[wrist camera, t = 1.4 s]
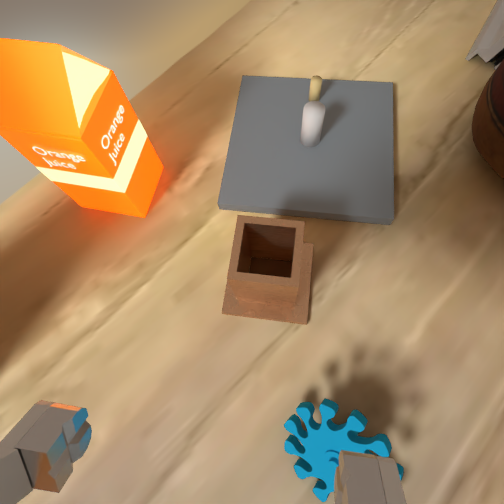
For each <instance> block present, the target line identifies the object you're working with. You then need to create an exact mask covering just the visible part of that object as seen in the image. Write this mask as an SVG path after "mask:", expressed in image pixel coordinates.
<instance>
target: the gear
mask: <svg viewBox="0 0 504 504" xmlns="http://www.w3.org/2000/svg"><path fill="white" fill-rule="evenodd" d="M319 409H320V412H321V416H322V424H318V423H316V422H315V421H314V419H313V413H314V410H315V408H314V405H313V404H312V403H311V402H303V403H300V405H299V406H298V407H297V408H296V411H297V414H298V415H299V416H300V417H301V419H302V420H303V421H304V423H305V425H306V428H307V432H306V431H305V430H304V429H303V428H302V425H301V421H300V419H299V417H298V416H297V415H295V414H294V415H292V416H291V417H290V418H289V419H288V420H287V422H286V423H285V424H284V427H285V428H286V430H287V431H289V432H290V433H292V434H294V435H295V436H296V437H297V438H298V439H299V440H300V442H301V443H302V444H303V446H302V445H301V444H300V442H299V441H298V439H297V438H296V437H295V436H293V435H290V436H289V437H288V438H287V440H286V441H285V451H286V452H287V453H289V454H294V455H297V456H299V457H301V458H303V459H304V460H303V459H298V460H297V462H296V463H295V465H294V469H295V472H296V474H297V476H298V478H300V479H305V478H306V477H310V476H312V477H316V478H319V479H322V480H323V481H317V483H316V485H315V487H314V488H313V492H314V494H315V495H316V496H317V497H318V498H319V499H320V500H321V501H322V502H325V501H326V500H327V498H328V496H329V494H330V492H333V491H334V479H335V471H336V467H338V466H339V454H340V451H341V450H344V451H351V452H358V453H365V454H371V455H374V454H372V453H371V452H370V451H369V450H372V451H374V452H375V453H376V454H378V455H379V456H381V457H389V455H390V452H391V449H392V447H391V443H390V441H389V439H388V437H387V435H385V434H377V435H376V436H374V437H361V436H357V435H358V433H359V432H361V431H363V430H364V428H365V426H366V424H367V422H368V421H367V419H366V418H365V416H364V415H363V414H362V413H360V412H359V411H358V410H357V409H356V410H353V411H352V412H351V414H350V416H349V417H348V420H347V422H346V423H344V424H341V425H337V424H335V423H333V422H332V420H331V418H333V417H334V416H335V414H336V413H337V411H338V409H339V407H338V404H337V403H335V402H333V401H331V400H329V399H326V398H325V399H324V400H323V402H322V403H321V405H320V407H319ZM368 449H369V450H368ZM305 460H306V461H307V462H306V461H305ZM396 464H397V468H398V472H399V476H400V480H402V477H403V472H404V468H403V467H402V466H401V465H400V464H398V463H396Z"/></svg>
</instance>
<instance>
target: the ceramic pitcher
mask: <svg viewBox="0 0 504 504" xmlns="http://www.w3.org/2000/svg"><path fill="white" fill-rule="evenodd" d="M472 132H473V140H474V143H475V146H476V148H477V150H478V151H479V153H480V154H481V156H482V157H483V158H484V160H485V161H486V162H488V164H489V165H490V166H491V167H492V169H493V170H494V171H495V172H496V173H498V174H499V175H500V176H501V177H502V178H503V179H504V59H503V61H502V62H501V63H500V65H499V66H498V67H497V69H496V70H495V72H494V73H493V75H492V76H491V78H490V79H489V80H488V82H487V84H486V86H485V88H484V90H483V92H482V94H481V96H480V98H479V100H478V102H477V105H476V108H475V112H474V116H473V122H472Z"/></svg>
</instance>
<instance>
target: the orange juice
mask: <svg viewBox="0 0 504 504" xmlns="http://www.w3.org/2000/svg"><path fill="white" fill-rule="evenodd" d="M0 135H1V136H2V137H3V138H4V139H6V140H7V141H8V142H9V143H10V144H11V145H12V146H13V147H14V148H16V149H17V150H18V151H19V152H20V153H21V154H22V155H23V156H25V157H26V158H27V159H28V160H29V161H30V162H31V163H32V164H34V165H35V166H36V168H37V169H38V170H40V171H41V172H42V173H43V174H44V175H45V176H46V177H47V178H49V179H50V180H51V181H53V182H54V183H55V184H56V185H57V186H58V187H59V188H61V189H62V190H63V191H64V192H65V193H66V194H67V195H69V196H70V197H71V198H72V199H73V200H74V201H75V202H76V203H78V204H79V205H80V206H81V207H86V208H91V209H97V210H103V211H109V212H114V213H120V214H126V215H131V216H137V217H143V218H145V217H146V214H147V212H148V209H149V206H150V203H151V200H152V198H153V195H154V192H155V189H156V187H157V184H158V181H159V178H160V176H161V173H162V170H163V165H162V163H161V161H160V159H159V157H158V156H157V154H156V152H155V150H154V148H153V146H152V144H151V142H150V140H149V139H148V137H147V134H146V132H145V130H144V128H143V126H142V124H141V122H140V120H139V119H138V118H137V116H136V114H135V112H134V110H133V108H132V106H131V105H130V103H129V101H128V99H127V97H126V95H125V93H124V91H123V89H122V88H121V86H120V84H119V82H118V80H117V78H116V76H115V74H114V72H113V71H112V70H110V69H108V68H106V67H104V66H102V65H100V64H98V63H96V62H94V61H92V60H90V59H88V58H86V57H84V56H82V55H80V54H78V53H76V52H74V51H72V50H70V49H68V48H66V47H64V46H62V45H59V44H53V43H44V42H34V41H25V40H15V39H5V38H0Z"/></svg>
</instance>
